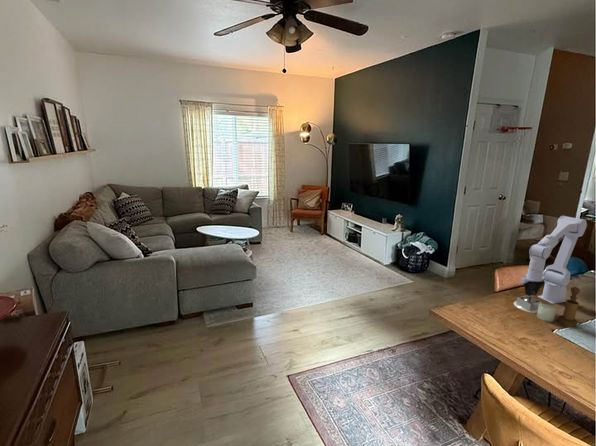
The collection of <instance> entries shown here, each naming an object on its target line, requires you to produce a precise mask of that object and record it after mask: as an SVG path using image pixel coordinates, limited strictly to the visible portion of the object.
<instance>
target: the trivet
mask: <svg viewBox="0 0 596 446" xmlns="http://www.w3.org/2000/svg"><path fill="white" fill-rule="evenodd" d="M516 302H517V300H515V301H513V305H514V306H515V307H516V308H517V309H519V310H521V311H523V312H527V313H533V314H537V312H538V310H533V311H528V310H526V309H524V308H523V307H521V306H519V305H517V304H516Z"/></svg>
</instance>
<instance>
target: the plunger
mask: <svg viewBox="0 0 596 446" xmlns="http://www.w3.org/2000/svg"><path fill="white" fill-rule="evenodd" d="M532 296H536V295H535V290H534V289H533V290H532V293H531V296H529V298H528V297H524V298H523V300H525V301H527V302H529V303H536V301H535V300H534V299H535V298H534V299H532V298H533V297H532ZM531 297H532V298H531Z"/></svg>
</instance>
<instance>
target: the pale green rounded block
mask: <svg viewBox="0 0 596 446" xmlns="http://www.w3.org/2000/svg"><path fill="white" fill-rule="evenodd" d="M556 313H557V307H556V306H554V305H553V304H552V305H551V304H547V303H542V304H539V308H538V312H537V313H536V317H537V318H538V319H539V320H542V321H545V322H548V323H549V322H550V323H551V322H554V321H555V317H556V315H557V314H556Z"/></svg>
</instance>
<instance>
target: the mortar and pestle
mask: <svg viewBox="0 0 596 446" xmlns="http://www.w3.org/2000/svg"><path fill="white" fill-rule="evenodd" d="M570 292H571V295H570V297H569V298H570V299H567V300H566V302H565V308H564V310H563V314H562V315H559V316H558V319H557V322H558V324H560V325H562V326H564V327H568V328H573V329H574V328H577V324H578V321H577V320H576V318H575V317H576V314H577V310H578V307H579V302H578V301H577V300H578V297H577V295H578V294H580V293H581V290H580V288H579V287H577V286H572V287H571V288H570Z"/></svg>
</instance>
